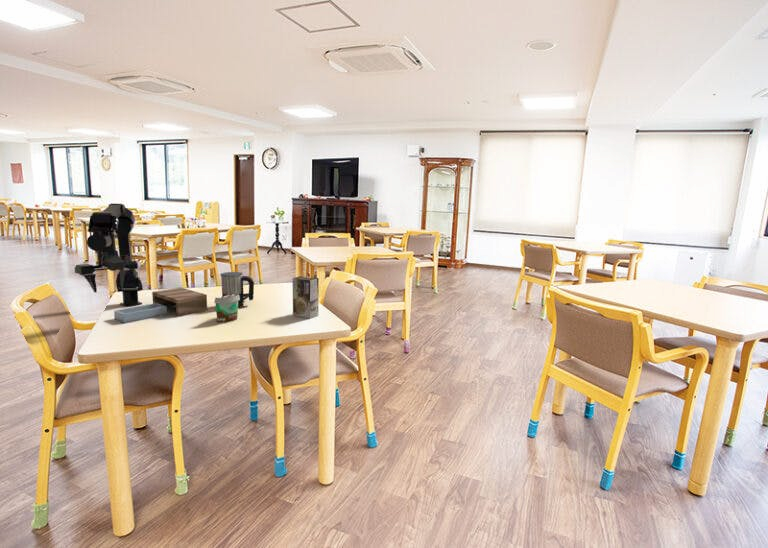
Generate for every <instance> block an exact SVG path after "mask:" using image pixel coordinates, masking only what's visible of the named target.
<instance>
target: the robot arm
mask: <svg viewBox="0 0 768 548" xmlns="http://www.w3.org/2000/svg"><path fill="white" fill-rule="evenodd" d="M89 216H90V217H89V222H88V228H87V232H88V233H92V234H91V235H89V236H88V238H87V239H86V245H87V247H88V248H89V250H92V251H93V252H95V254H96V257H97V261H96V265H93V264H89V263H83V264H82V263H81V264H76V265H75V267H74V273H76V274H78V275H79V276H82V277H84V279H85V280H86V281H87V282H88V284H89V286H90V288H91V290H93V293H97V282H96V276H97V274H96V273H95V271H104V270H105V271H106V270H109V271H111V272H112V271H114V272H115V271H118V270H119V271H118V273H117V274H116V278H115V285H116V290H117V292H118V293H120V292H122V293H121V294H122V302H120V303H119V305H122V306H123V307H126V308H129V307H134V306H140V305H143V303H142V302H141V301H139V292H140V291H143V290H144V289H143V287H144V286H143V283H142V280H141V279H140V276H139V273H138V271H137V270H138V269H139V264H138V262H137V261H136V260H133V254H132V242H131V232H132V231H133V229H134V227H135V223H136V221H135V220H136V219H135V216H134V214H133V212H132V211H131V209H128V208H127V207H126V206H125V204H123V203H108V206H107V207H106V208H105V209H104V210H102V211H94V212H92V213H91V215H89ZM115 234H116V235H115ZM116 236H117V245H118V250H117V249H116Z"/></svg>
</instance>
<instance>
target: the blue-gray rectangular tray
mask: <svg viewBox="0 0 768 548" xmlns="http://www.w3.org/2000/svg"><path fill="white" fill-rule="evenodd" d="M167 315H168V308H167V306H164V305H161V304H158V303H153V302H152V303H149V304H144V305H143V304H141V305H136V306H130V307H126V308H121V309H115V310H113V316H114V320H115V321H118V322H120V323H123V324H129V323H134V322H138V321H144V320H149V319H154V318H158V317H163V316H167Z"/></svg>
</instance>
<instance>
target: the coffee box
mask: <svg viewBox="0 0 768 548" xmlns="http://www.w3.org/2000/svg"><path fill="white" fill-rule="evenodd" d="M319 279H320V278H319V277H314V276H303V275H299V276H296V277H293V278H292V279H291V280H292V316H293V315H295V316H294V317H299V316H300V317H301V318H304V319H305V318H306V319H312V318H315V317H317V316H319Z"/></svg>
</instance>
